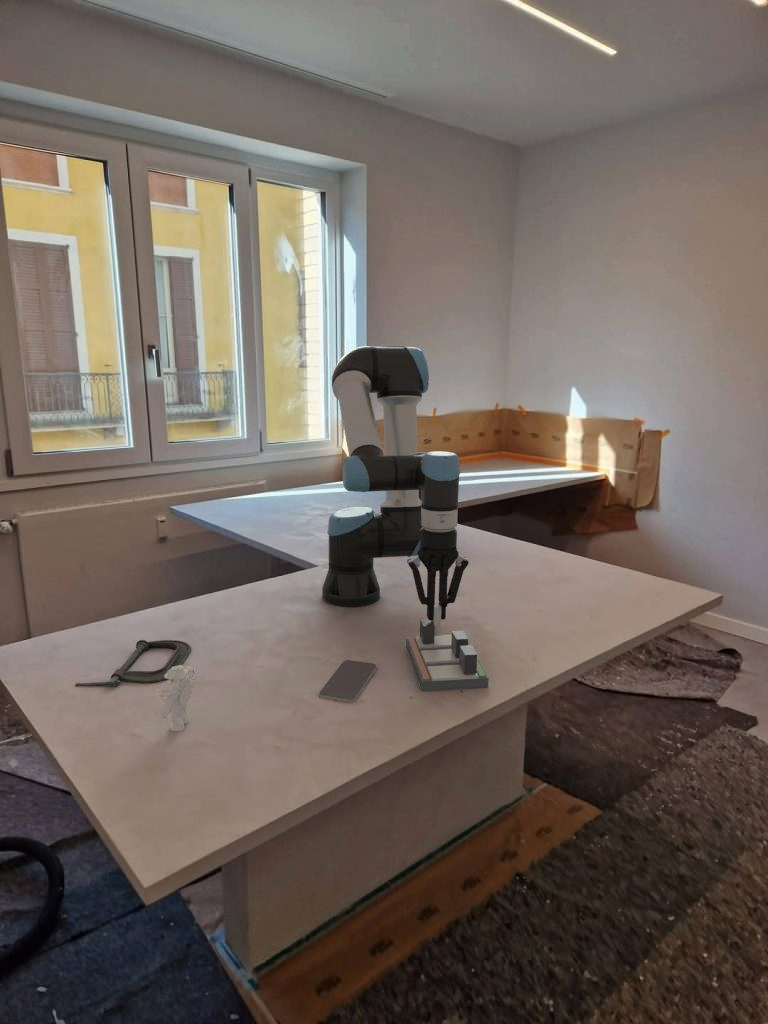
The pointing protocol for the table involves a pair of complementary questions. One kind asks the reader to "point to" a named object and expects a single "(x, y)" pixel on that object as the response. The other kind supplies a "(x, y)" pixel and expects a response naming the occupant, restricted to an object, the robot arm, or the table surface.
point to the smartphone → (348, 681)
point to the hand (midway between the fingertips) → (435, 633)
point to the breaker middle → (458, 642)
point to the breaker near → (468, 659)
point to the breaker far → (427, 631)
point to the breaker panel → (441, 666)
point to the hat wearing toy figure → (178, 695)
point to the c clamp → (155, 676)
